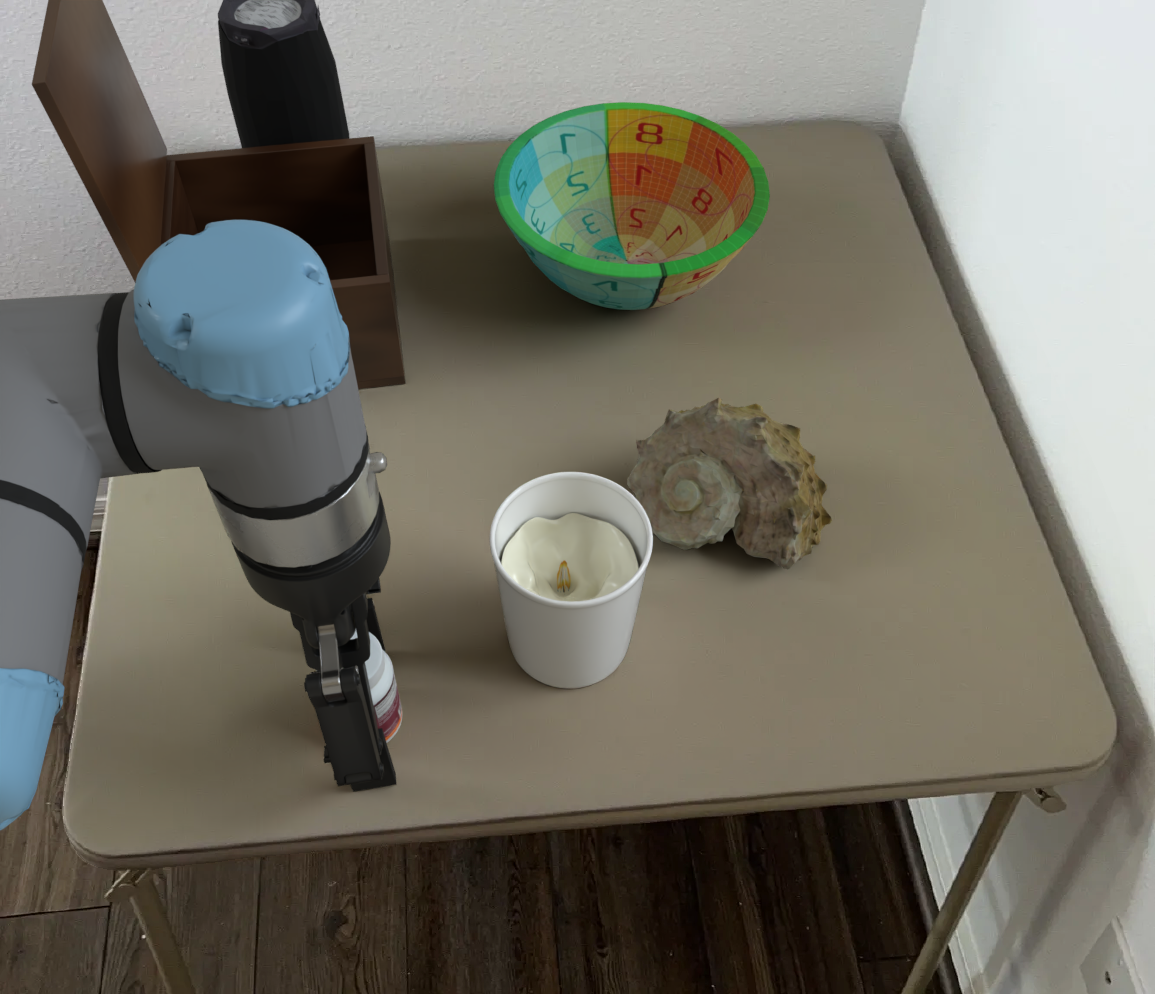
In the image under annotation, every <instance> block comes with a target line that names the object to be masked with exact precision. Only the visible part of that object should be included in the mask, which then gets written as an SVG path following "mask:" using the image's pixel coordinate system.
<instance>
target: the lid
mask: <svg viewBox="0 0 1155 994" xmlns="http://www.w3.org/2000/svg"><path fill="white" fill-rule="evenodd" d="M44 14H45V15H44V21H43V25H42V30H41V35H40V40H39V45H38V50H37V55H36V61H35V66H34V70H33V76H32V80H31V86H32V88H33V90H34V92H35V94H36V96H37V97H38V99H39V102H40V104H41V106H42V107H43V110H44V111H45V114H46V115H47V117H48V119H49V121H50V123H51V125H52V127H53V128H54V130H55V132H56V134H57V136H58V138H59V140H60V142H61V143H62V144H61V145H62V147H63V148H64V149H65V151H66V153H67V155H68V157H69V159H70V162H71V163H72V165H73V166H74V169H75V170H76V173H77V174H78V176H79V179H80V180H81V182H82V184H83V186H84V188H85V190H86V191H87V194H88V195H89V197H90V200H91V201H92V203H93V206H94V207H95V209H96V211H97V213H98V215H99V216H100V219H101V221H102V222H103V224H104V226H105V229H106V230H107V232H108V233H109V236H110V237H111V240H112V241H113V244H114V246H115V248H116V250H117V251H118V253H119V255H120V257H121V259H122V261H123V262H124V264H125V266H126V268H127V270H128V272H129V275H130V276H131V278H132V281H133V282H134V283H135V282H136V278H137V275H138V273H139V271H140V269H141V268H142V266H143V264H144V263H145V261H146V260H147V259H148V257H149V256H150V255H151V254H152V253H153V252H154V251H155V250H156V249H157V248H159V247H160V245H161V231H162V217H163V203H164V188H165V174H166V160H167V155H168V148H167V146H166V143H165V141H164V138H163V136H162V134H161V131H160V129H159V127H158V125H157V123H156V120H155V117H154V116H153V113H152V111H151V109H150V106H149V104H148V102H147V99H146V97H145V94H144V93H143V90H142V88H141V85H140V83H139V81H138V79H137V76H136V75H135V71H134V69H133V67H132V65H131V62H130V60H129V58H128V55H127V53H126V52H125V48H124V46H123V44H122V41H121V40H120V38H119V35H118V33H117V31H116V28H115V25H114V23H113V21H112V19H111V17H110V14H109V12H108V10H107V7H106V5H105V3H104V0H48V1H47V4H46V9H45V13H44Z"/></svg>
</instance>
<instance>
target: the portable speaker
mask: <svg viewBox="0 0 1155 994" xmlns="http://www.w3.org/2000/svg"><path fill="white" fill-rule="evenodd" d="M320 16H321V12H320V6H319V5H317V3H316V0H222V2H221V4H220V6H219V9H218V12H217V20H218V21H217V26H218V27H217V28H218V29H217V30H218V40H219V50H220V62H221V63H220V64H221V69H222V73H223V77H224V82H225V87H226V88H225V89H226V92H227V97H228V99H229V100H228V101H229V105H230V108H231V112H232V115H233V116H232V117H233V119H234V123H235V127H236V130H237V135H238V138H239V143H240V147H241V148H250V147H261V146H272V145H283V144H294V143H305V142H316V141H327V140H337V139H348V138H350V131H349V125H348V120H347V115H346V111H345V110H346V109H345V105H344V99H343V93H342V89H341V82H340V77H339V74H338V73H339V72H338V68H337V63H336V59H335V56H334V53H333V50H332V48H331V45H330V43H329V39H328V37H327V34H326V31H325V29H324V26H323V23H322V20H321V17H320Z"/></svg>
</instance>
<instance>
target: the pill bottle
mask: <svg viewBox="0 0 1155 994" xmlns="http://www.w3.org/2000/svg"><path fill="white" fill-rule="evenodd" d="M369 636H370V658H369V659H368V660H367V661H366V662H365V665H366V670H367V675H368V680H369V685H370V690H371V696H372V701H373V706H374V711H375V716H376V721H377V727H378V729H379V728H382V729H383V733H384V736H385V739H386V743H387V744H388V743H389V742H390V741H391V740H392V739H393V738H394V737H395V736H396V735H397V733H398V732H399V730H400V728H401V725H402V721H403V706H402V701H401V696H400V693H399V689H398V683H397V678H396V674H395V669H394V665H393V661H392V660H391V657H390V655H388V653H387V652H385V651H384V650H383V649H382V647H381V645H380V643H379V641H378V640H377V638H376V637H375V636H374V635H373V634H371V633H370V632H369ZM355 638H358V637H357V632H356V631H355V633H354V635H353V636H352V638H351V639H355ZM315 671H317V670H315Z"/></svg>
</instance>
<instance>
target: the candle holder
mask: <svg viewBox="0 0 1155 994" xmlns="http://www.w3.org/2000/svg"><path fill="white" fill-rule="evenodd" d="M488 540H489V550H490V555H491V558H492V561H493V565H494V570H495V575H496V576H495V577H496V582H497V587H498V592H499V598H500V603H501V609H502V615H503V620H504V624H505V625H504V626H505V631H506V636H507V639H508V645H509V648H510V651H511V654H512V655H513V657H514V659H515V661H516V662H517V664H518V665H519V666H520V668H521V669H522V670H523V671H524V672H525V673H526V674H527V675H528V676H530V677H531V678H533V679H534V680H536V681H538V682H540V683H542V684H544V685H547V686H550V687H553V688H559V689H579V688H585V687H589V686H592V685H595V684H598V683H600V682H601V681H603V680H605V679H607V677H609V676H610V675H611V674H613V673H614V672H615V671H616V670H617V669H618V667H619V666H620V665H621V664H622V662H623V661H624V659H625V657H626V655H627V652H628V650H629V647H630V644H631V640H632V635H633V632H634V628H635V623H636V619H637V614H638V610H639V605H640V601H641V598H642V597H641V596H642V592H643V587H644V582H645V579H646V573H647V571H648V570H647V569H648V565H649V562H650V560H651V556H652V552H653V547H654V533H653V532H652V528H651V524H650V521H649V518H648V516H647V514H646V512H645V510H644V508H643V507H642V505H641V504H640V503H639V502H638V500H637V499H636V497H635V495H633V494H632V493H631V492H630V491H628V490H627V489H626V488H625V487H623V486H622V485H621V484H618V483H617V482H615V481H613V480H611V479H609V478H606V477H604V476H601V475H597V474H594V473H588V472H581V471H560V472H553V473H548V474H544V475H540V476H537V477H535V478H533V479H531V480H529V481H527V482H525V483H522V484H521V485H520V486H518V487H517V488H515V489H514V490H513V491H511V493H509V494H508V495H507V497H505V499H504V500H503V501H502V502H501V504H500V505H499V507H498V508H497V510H496V511H495V514H494V516H493V518H492V521H491V525H490V529H489V539H488Z"/></svg>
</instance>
